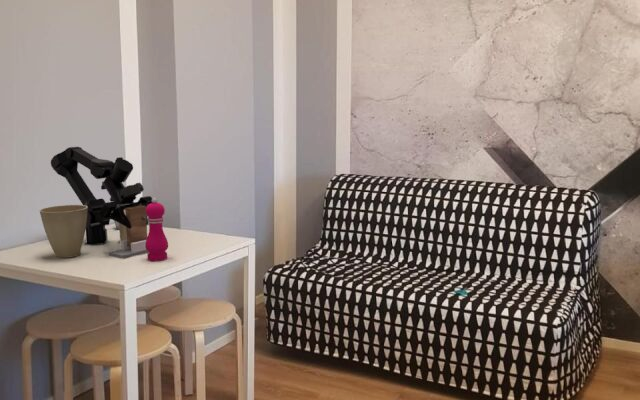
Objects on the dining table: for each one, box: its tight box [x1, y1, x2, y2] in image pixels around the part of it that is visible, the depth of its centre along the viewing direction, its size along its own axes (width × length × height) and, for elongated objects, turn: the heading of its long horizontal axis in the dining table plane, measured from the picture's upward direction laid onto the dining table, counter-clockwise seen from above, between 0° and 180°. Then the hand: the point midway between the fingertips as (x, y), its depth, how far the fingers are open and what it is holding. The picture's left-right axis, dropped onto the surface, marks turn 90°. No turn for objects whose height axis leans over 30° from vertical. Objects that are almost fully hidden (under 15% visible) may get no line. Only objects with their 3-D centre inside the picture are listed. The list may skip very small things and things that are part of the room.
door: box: [125, 205, 148, 247], centre depth 231 cm, size 4×6×13 cm, turn 142°
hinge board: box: [107, 240, 149, 259], centre depth 232 cm, size 8×18×4 cm, turn 142°
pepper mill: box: [145, 197, 169, 262], centre depth 221 cm, size 7×7×20 cm
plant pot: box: [39, 204, 88, 258], centre depth 227 cm, size 15×15×16 cm
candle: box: [119, 214, 127, 242], centre depth 249 cm, size 6×6×10 cm
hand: (139, 226), depth 230 cm, fingers closed on door, 6 cm apart
